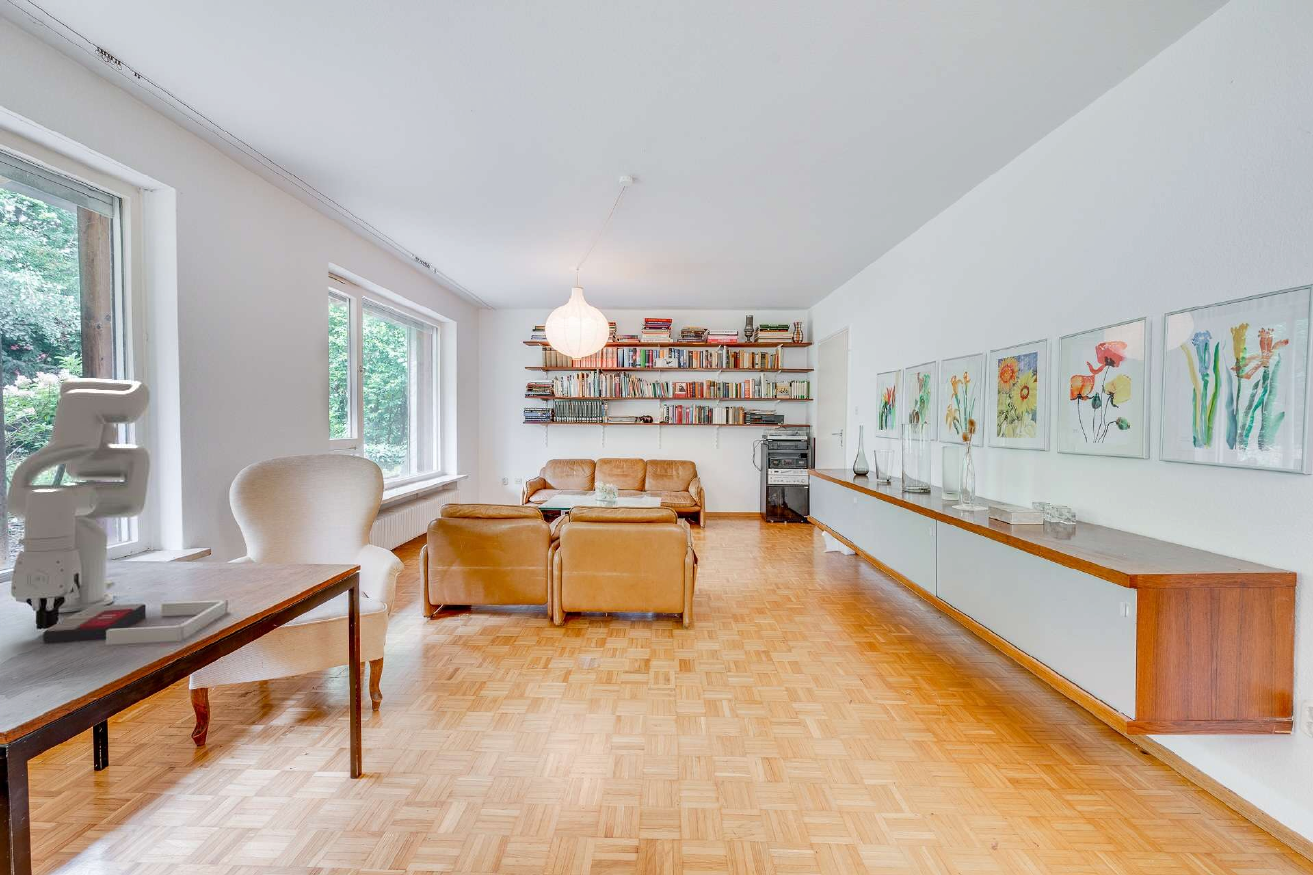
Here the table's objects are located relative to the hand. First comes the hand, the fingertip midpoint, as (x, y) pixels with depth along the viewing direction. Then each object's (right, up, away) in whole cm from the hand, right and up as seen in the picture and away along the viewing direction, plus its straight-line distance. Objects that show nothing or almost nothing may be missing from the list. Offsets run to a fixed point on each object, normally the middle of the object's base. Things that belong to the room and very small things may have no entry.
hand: (47, 626), depth 122 cm
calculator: (+8, -2, +3) cm, 9 cm away
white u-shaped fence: (+22, -2, +6) cm, 23 cm away
